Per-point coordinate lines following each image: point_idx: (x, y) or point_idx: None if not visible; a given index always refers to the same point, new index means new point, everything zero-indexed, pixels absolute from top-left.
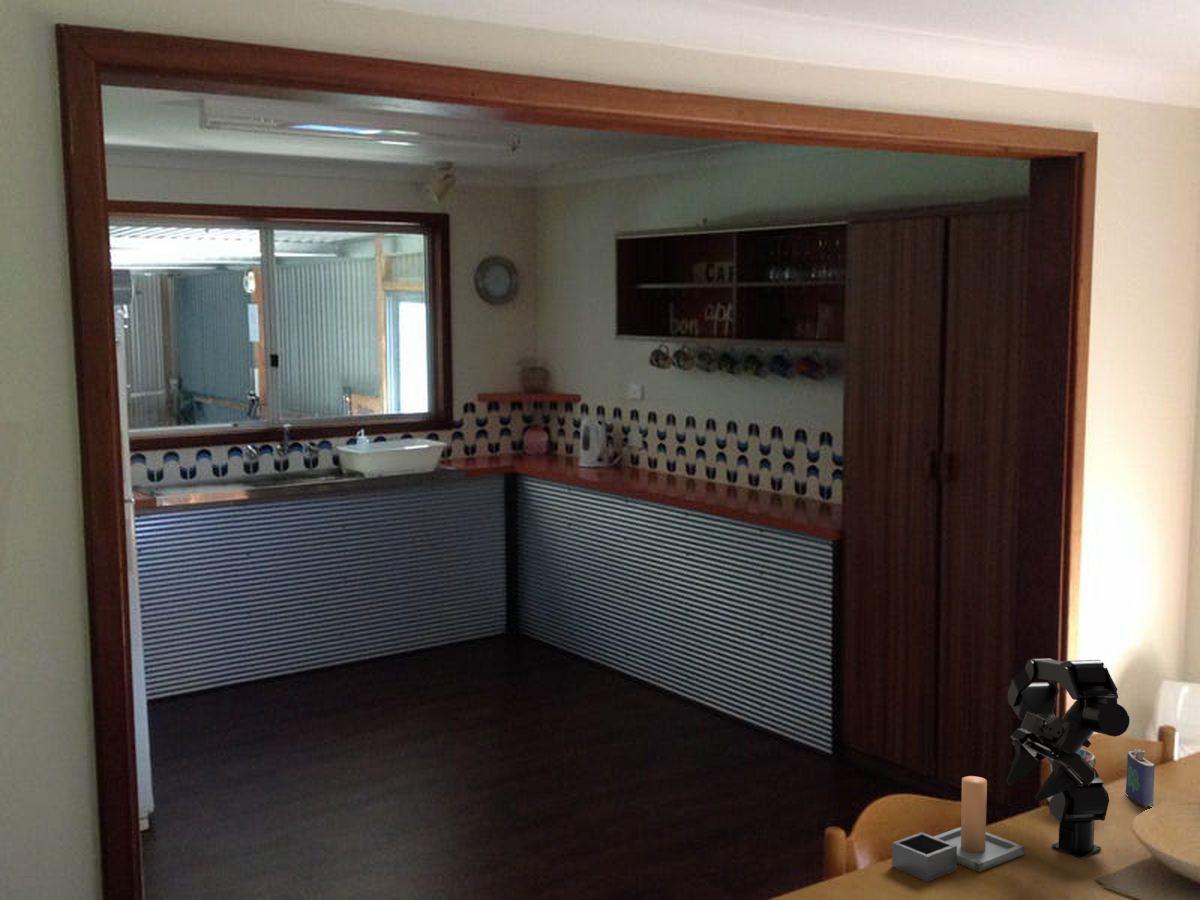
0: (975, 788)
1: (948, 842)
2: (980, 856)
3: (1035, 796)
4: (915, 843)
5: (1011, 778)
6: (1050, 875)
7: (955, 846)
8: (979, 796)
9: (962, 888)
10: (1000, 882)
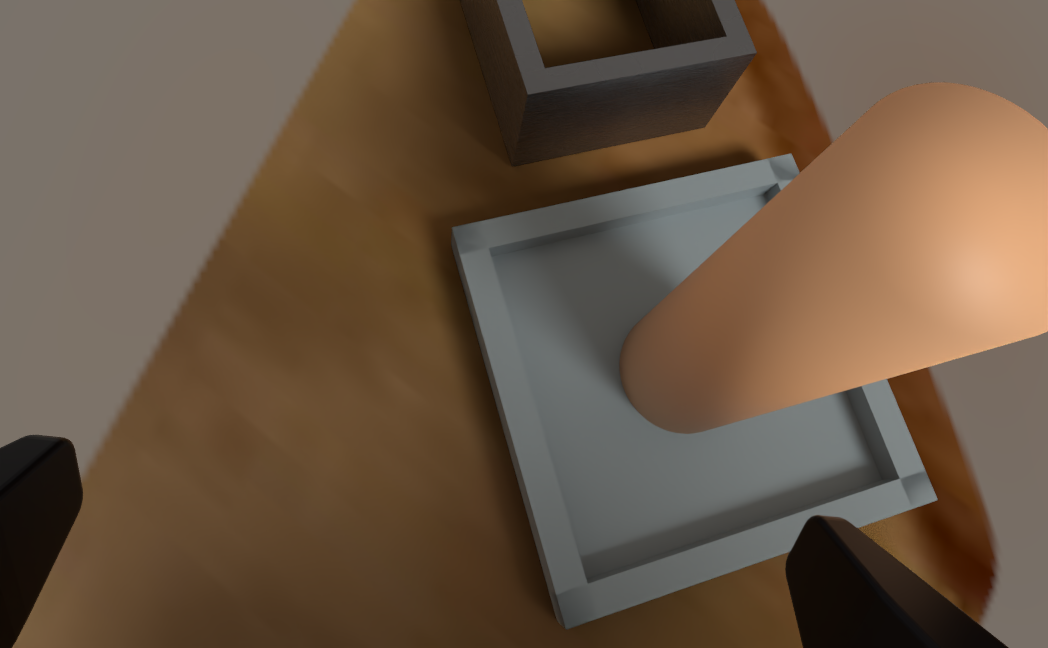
0: (825, 156)
1: None
2: (580, 340)
3: (61, 439)
4: (694, 18)
5: (837, 584)
6: (257, 574)
7: (525, 84)
8: (770, 229)
9: (336, 74)
10: (310, 264)
